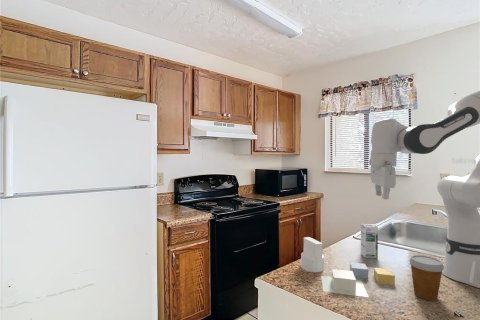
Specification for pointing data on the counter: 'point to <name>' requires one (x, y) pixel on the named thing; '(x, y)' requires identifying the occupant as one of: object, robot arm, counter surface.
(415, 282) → the disposable coffee cup
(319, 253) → the cylinder with rectangular tab
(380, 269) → the mustard brick
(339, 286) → the base brick
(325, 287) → the plate
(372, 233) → the syrup box
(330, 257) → the counter surface
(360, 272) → the slate brick
